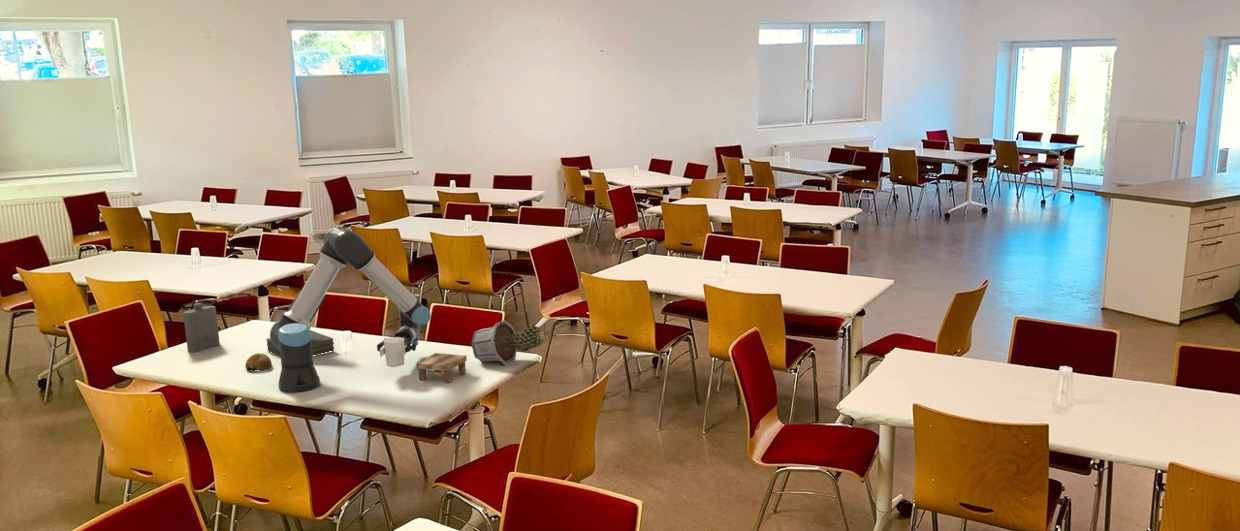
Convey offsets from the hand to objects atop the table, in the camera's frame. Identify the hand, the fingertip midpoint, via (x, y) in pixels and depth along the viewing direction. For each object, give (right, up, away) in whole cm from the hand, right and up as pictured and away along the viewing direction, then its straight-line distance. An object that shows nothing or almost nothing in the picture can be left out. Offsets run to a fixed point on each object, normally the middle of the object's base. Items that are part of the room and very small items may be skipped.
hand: (391, 353), depth 370 cm
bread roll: (-60, -9, +24) cm, 65 cm away
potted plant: (+43, -6, +20) cm, 48 cm away
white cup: (0, -5, +6) cm, 8 cm away
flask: (-97, -3, +56) cm, 112 cm away
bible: (-50, -4, +46) cm, 68 cm away
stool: (+19, -10, +5) cm, 22 cm away
